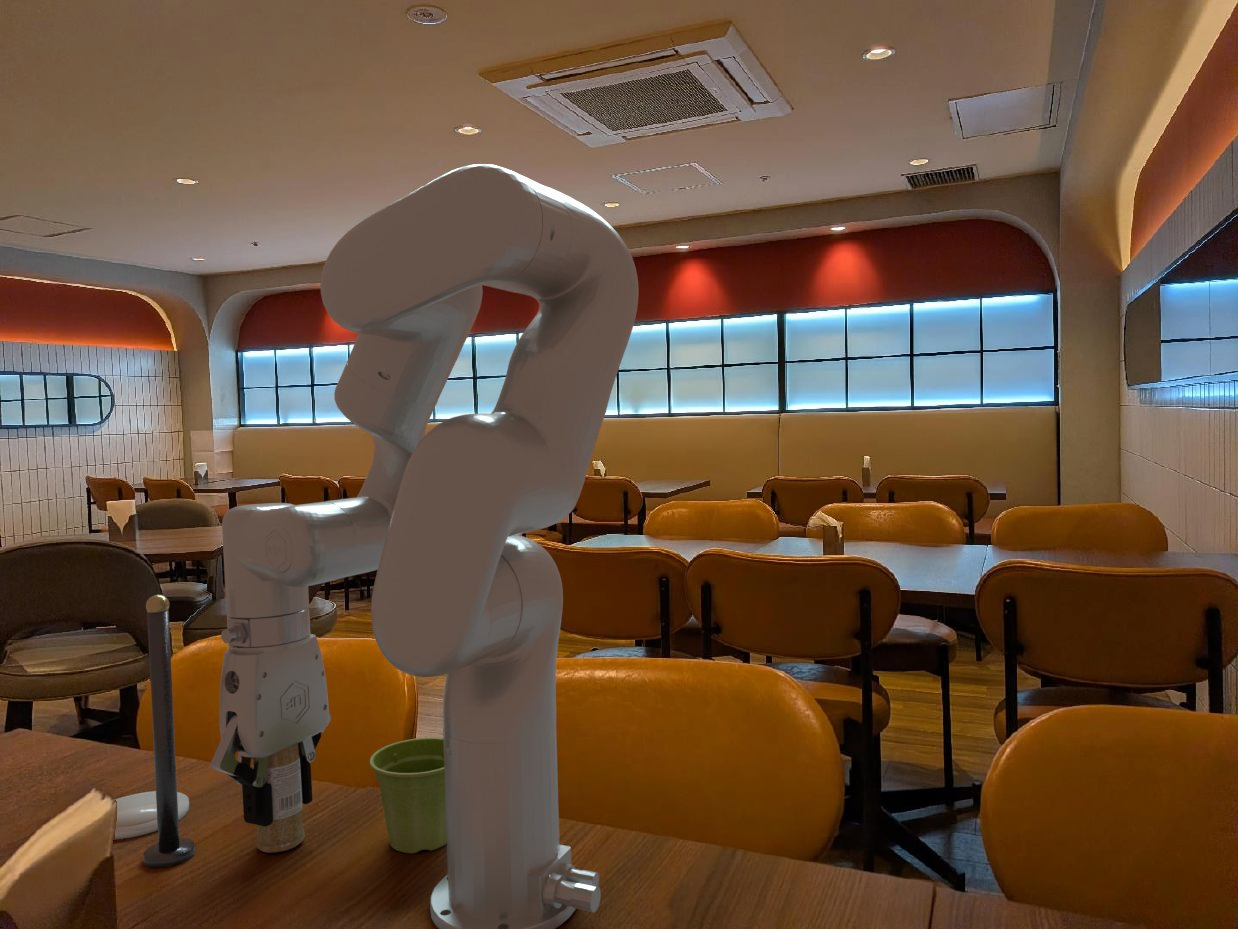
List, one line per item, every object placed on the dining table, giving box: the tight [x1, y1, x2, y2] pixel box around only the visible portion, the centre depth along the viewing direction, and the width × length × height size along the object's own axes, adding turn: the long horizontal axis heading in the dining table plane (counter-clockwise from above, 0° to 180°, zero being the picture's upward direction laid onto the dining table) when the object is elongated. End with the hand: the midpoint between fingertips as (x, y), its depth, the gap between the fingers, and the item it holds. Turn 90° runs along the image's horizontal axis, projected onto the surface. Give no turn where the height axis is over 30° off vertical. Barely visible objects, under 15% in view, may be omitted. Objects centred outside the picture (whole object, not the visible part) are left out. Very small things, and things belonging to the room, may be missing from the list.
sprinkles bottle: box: [251, 743, 306, 853], centre depth 85 cm, size 5×5×14 cm
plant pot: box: [369, 737, 447, 854], centre depth 86 cm, size 9×9×9 cm
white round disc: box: [114, 790, 190, 840], centre depth 92 cm, size 10×10×1 cm
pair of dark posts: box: [142, 594, 196, 869], centre depth 89 cm, size 4×18×26 cm, turn 156°
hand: (279, 810), depth 85 cm, fingers closed on sprinkles bottle, 4 cm apart
